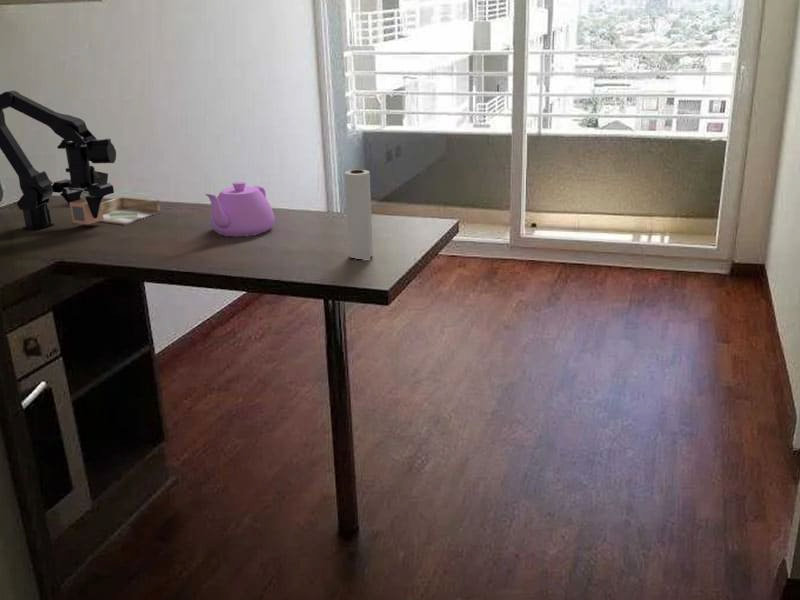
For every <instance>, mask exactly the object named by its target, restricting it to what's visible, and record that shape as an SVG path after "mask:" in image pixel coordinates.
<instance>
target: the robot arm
mask: <svg viewBox="0 0 800 600" xmlns="http://www.w3.org/2000/svg"><path fill="white" fill-rule="evenodd" d="M8 108H11V109H13V110H16V111H18V112H20V114H21V113H22V114H24V115H26V116H28V117H29V118H32V119H34V120H36V121H37V122H39V123H42V124H44V125H46V126H47V127H48V128H50V129H51V130H52V131H53V133H54V134H55V135H57V136H58V137H60V138H61V139H62V140H61V142H60V143H59V144H58V146H57V147H56V148H57V149H58V150H59V149H60V150H65V153H66V160H67V166H68V167H66V168H65V173H69V178H70V179H68V178H67V179H61V180H58V181H54V182H53V181H52V180H51V179H50V178H49V176H48V173H47V172H46V171H44V170H43V171H42V172H39V171H38V170H36V169H35V167H34V166H33V164H32V163H31V161H30V160H29V158H28V157H27V155H26V153H25V152H24V151H23V149H22V148H21V146H20V144H19V143H18V141H17V139H16V138H15V137H14V135H13V134H12V132H11V130H10V129H9V127H8V126H7V124H6V119H5V113H4V110H5V109H8ZM0 150H1V152H2V153H3V155H4V156H5V158H6V159H7V161H8V163H9V165H11V167H12V169H13V170H14V172H15V174H16V175H17V177H18V182H19V189H20V190H21V192H22V196H21V197H20V198H19V199H18V201H17V202H16V205H17V207H18V208H19V210H20V211H21V210H22V214H23V220H24V225H22V226H21V227H22V229H27V230H35V231H38V230H43V229H44V228H45V229H46V228H48V227H52V226H54V225H55V223H54V222H52V218H51V213H50V208H49V207H48V203H50V199H51V197H52V196H53V193H59V195H60V196H61V197H63V199H64V200H65V201H66V203H67V204H68V205H69V206H70V203H69V202H73V201H77V200H80V196H81V193H82V191H87V192H89V194H90V196H86V197H85V198H86V201H87V203H88V206H89V208H90V211H91V213H92V216H93V218H97V217H98V212H99V207H100V203H102V200H103V198H104V197H105V196H108V195H110V194H111V195H112V194H115V191H114V186H113V185H112V184H111V182H110V183H108V179H109V173H107V172H101V171H97V170H95V167H94V166H93V165H90V162H91V163H92V164H114V163H115V162H116V160H117V150H116V149H115V146H114V144H113V143H112V141H111V138H104V139H97V137H96V136H95V135H94V134H93V133H92V132H91V131H90V129H88V127H87V124H86V122H85V121H84V120H83V119H81V118H80V117H76V116H74V115H70V114H65V113H60V112H57V111H54V110H53V109H50V108H48V107H47V106H45V105H43V104H40V103H39V102H36V101H35V100H34V99H33V100H32V99H31V98H29V97H26V96H24V95H22V94H20V92H18V91H16V90H8V91H4V92H2V93H1V94H0ZM92 184H95V185H92ZM79 187H80V188H79Z"/></svg>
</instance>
